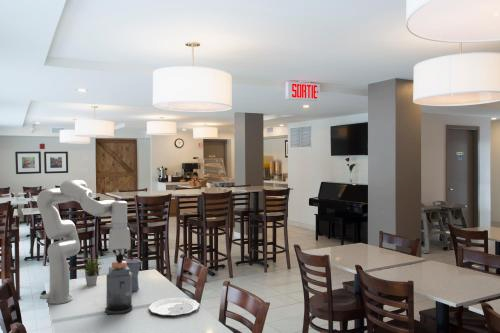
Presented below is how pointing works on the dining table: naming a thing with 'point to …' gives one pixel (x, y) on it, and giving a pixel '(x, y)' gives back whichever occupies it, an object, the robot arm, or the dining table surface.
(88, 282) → the house plant
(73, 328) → the dining table surface
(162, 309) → the plate
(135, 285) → the moka pot
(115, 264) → the pink rounded piece
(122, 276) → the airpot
